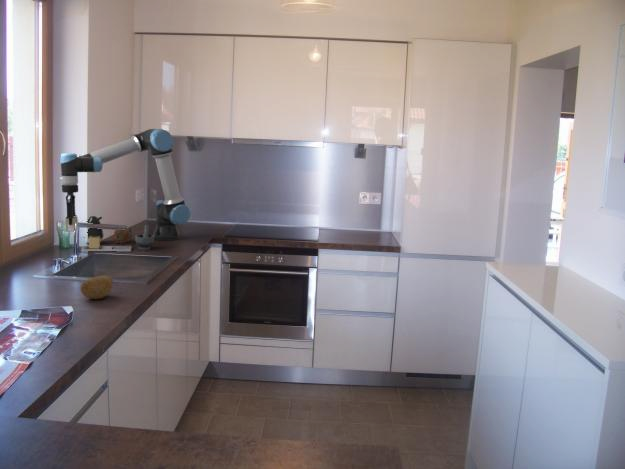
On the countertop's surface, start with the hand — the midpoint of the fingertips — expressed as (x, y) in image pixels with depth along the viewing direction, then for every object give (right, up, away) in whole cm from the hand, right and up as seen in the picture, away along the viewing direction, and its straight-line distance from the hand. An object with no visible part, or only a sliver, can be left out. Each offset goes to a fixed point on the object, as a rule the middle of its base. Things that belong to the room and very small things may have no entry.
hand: (71, 230), depth 283 cm
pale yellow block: (+10, -10, +5) cm, 15 cm away
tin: (+16, -7, +29) cm, 34 cm away
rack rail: (+16, -10, +6) cm, 20 cm away
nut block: (0, 0, 0) cm, 0 cm away
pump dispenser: (+2, -7, +22) cm, 23 cm away
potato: (+44, -26, -80) cm, 95 cm away
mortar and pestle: (+33, -10, +15) cm, 37 cm away
